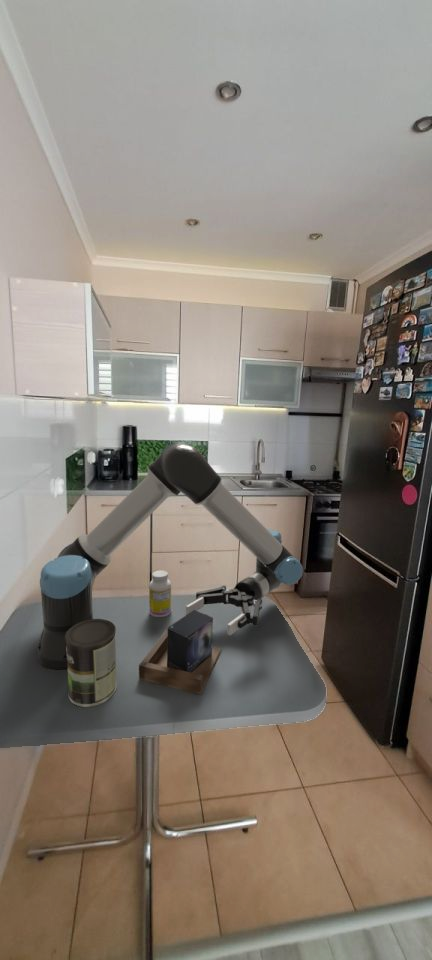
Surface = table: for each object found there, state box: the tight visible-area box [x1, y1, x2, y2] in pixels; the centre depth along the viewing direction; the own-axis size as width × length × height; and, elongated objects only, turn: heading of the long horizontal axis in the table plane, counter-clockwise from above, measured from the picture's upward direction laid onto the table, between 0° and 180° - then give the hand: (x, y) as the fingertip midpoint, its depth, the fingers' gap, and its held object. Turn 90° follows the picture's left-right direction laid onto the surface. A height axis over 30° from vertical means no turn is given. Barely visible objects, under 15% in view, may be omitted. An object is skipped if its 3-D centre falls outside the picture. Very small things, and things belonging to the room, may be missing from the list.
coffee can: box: [65, 618, 118, 708], centre depth 80 cm, size 10×10×14 cm
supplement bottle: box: [148, 569, 172, 618], centre depth 112 cm, size 7×7×13 cm
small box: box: [167, 610, 214, 673], centre depth 89 cm, size 11×6×10 cm, turn 145°
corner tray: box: [138, 627, 222, 696], centre depth 89 cm, size 15×16×4 cm
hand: (206, 620), depth 93 cm, fingers open, 13 cm apart
